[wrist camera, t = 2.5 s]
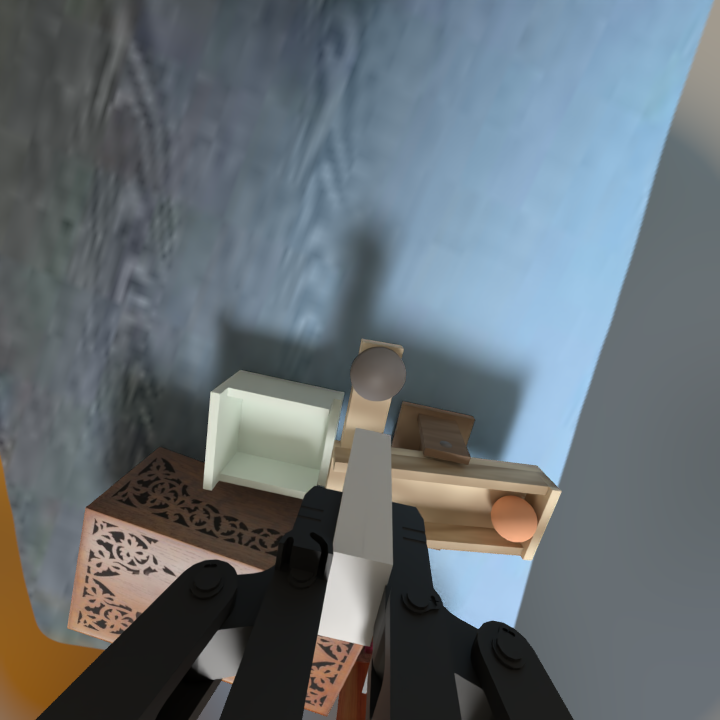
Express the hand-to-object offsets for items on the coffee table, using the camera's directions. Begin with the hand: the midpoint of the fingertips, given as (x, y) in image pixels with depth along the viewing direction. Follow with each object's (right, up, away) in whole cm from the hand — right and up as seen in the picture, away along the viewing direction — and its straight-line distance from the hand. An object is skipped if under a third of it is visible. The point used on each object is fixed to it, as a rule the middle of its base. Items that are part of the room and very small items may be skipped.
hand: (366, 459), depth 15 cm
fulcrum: (+6, -5, +21) cm, 22 cm away
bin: (-8, -2, +21) cm, 23 cm away
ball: (+12, -9, +14) cm, 21 cm away
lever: (+7, -3, +14) cm, 16 cm away
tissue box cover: (-12, -16, +26) cm, 33 cm away
